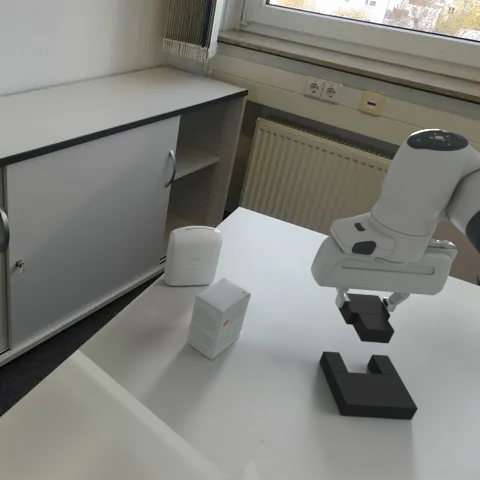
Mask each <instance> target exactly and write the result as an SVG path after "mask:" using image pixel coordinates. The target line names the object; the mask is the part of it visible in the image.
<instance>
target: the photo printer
mask: <svg viewBox="0 0 480 480" xmlns="http://www.w3.org/2000/svg"><path fill="white" fill-rule="evenodd" d="M222 245H223V236H222V232H221V230H220V229H218V228H215V227H211V226H207V225H190V226H183V227H178V228H175V229H173V230H171V231H170V233H169V239H168V245H167V251H166V257H165V265H164V271H163V277H162V278H163V282H164V283H165V284H166V285H167V286H171V287H178V286H179V287H180V286H181V287H183V286H185V287H186V286H204V285H213V284H214V283H215V277H216V273H217V267H218V264H219V258H220V254H221V249H222Z"/></svg>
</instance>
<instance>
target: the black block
mask: <svg viewBox="0 0 480 480" xmlns="http://www.w3.org/2000/svg"><path fill="white" fill-rule="evenodd" d="M344 294H347V296H348V298H349V300H350V303H349V305H348V307H347V308H338V307H337V309H338V311H339V313H340V315H341V316H342V318H343V320H344V322H345V325H348V326H349V325H351V326H352V327H353V328H354V330H355V332H356V334H357V336H358V338H359V340H360V342H363V343H379V344H389V343H390V342H391V340H392V338H393V336H394V334H395V329H394V328H393V326H392V325H391V323H390V321H389V320H390V317H391V312H388V310H387V309H386V307H385V306H384V304H383V300H382V299H381V298H380V295H377V294H364V293H350V292H347V293H344Z"/></svg>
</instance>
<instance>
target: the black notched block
mask: <svg viewBox="0 0 480 480" xmlns="http://www.w3.org/2000/svg"><path fill="white" fill-rule="evenodd" d="M318 363H319V366H320V368H321V371H322V373H323V375H324V377H325V380H326V383H327V385H328V387H329V390H330V392H331V395H332V397H333V399H334V402H335V405H336V406H337V407H336V408H337V409H338V411H339V414H340V416H344V417H345V416H346V417H359V418H376V419H393V420H407V421H408V420H413V418H414V417H415V414H416V413H417V411H418V406H417V404H416V403H415V400H414V399H413V397H412V396H411V394H410V392H409V390H408V388H407V387H406V385H405V383H404V381H403V379H402V377H401V376H400V374H399V372H398V371H397V369H396V367H395V366H394V363H393V362H392V360H391V358H390V357H389V355H386V354H371V356H370V358H369V360H368V362H367V365H366V366H367V368H368V370H369V372H368V373H367V372H366V373H365V372H352V371H351V372H350V371H349V370H348V368H347V366H346V364H345V362H344V360H343V357H342V355H341V353H340V352H339V351H327V350H326V351H323V352H322V353H321V356H320V359H319V361H318Z"/></svg>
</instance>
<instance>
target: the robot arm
mask: <svg viewBox="0 0 480 480" xmlns="http://www.w3.org/2000/svg"><path fill="white" fill-rule="evenodd" d="M441 222H451V224H453V226H455V227H456V229H458V230H459V232H461V233H462V234H463V235H464V236H465V237H466V239H467V241H468V242H469V243H470V244H471V245H472V247H473V248H474V249H475V250H476V252H477V253H478V255H480V152H479V151H477V150H476V149H475V148H474V147H473V146H472V145H471V144H470V142H469V140H468V139H467V138H466V137H465V136H464V135H461V134H459V133H456V132H454V131H449V130H445V129H439V128H438V129H437V128H435V129H433V128H431V129H424V130H423V129H422V130H418V131H416V132H414V133H412V134H410V135H409V136H408V137H407V138H406V139H405V140H404V141H403V142H402V143H401V145H400V146H399V147H398V150H397V151H396V153H395V154H394V156H393V158H392V160H391V162H390V164H389V166H388V169H387V170H386V173H385V175H384V178H383V181H382V184H381V187H380V196H379V198H378V200H377V201H376V202H375V203H374V205H373V206H372V208H371V210H370V212H366V213H363V214H359V215H354V216H351V217H344V218H339V219H336V220H334V221H332V222H331V226H330V231H331V235H329V236H327V237H326V238H324V240H323V241H322V242H321V244H320V245H319V248H318V249H317V251H316V253H315V255H314V258H313V261H312V263H311V266H310V273H311V276H312V278H313V280H314V281H315V283H316V284H317V285H318V287H323V288H335V290H336V293H337V295H336V297H335V299H334V304H335V305H336V308H337V309H338V308H347V307H348V305H349V303H350V300H349V298H348V296H347V294H344V293H349V290H360V291H374V292H387V293H391V295H390V296H388V297H387V296H383V298H382V302H383V304H384V306H385V307H386V309H387V310H388V312H389V313H394V312H395V310H396V308H397V306H398V305H400V304H401V303H403V302H404V301H406V300H408V299H409V297H410V295H424V296H436V295H438V294H439V293H441V292H442V291H443V290H444V288H445V285H446V283H447V280H448V278H449V276H450V271H451V268H452V263H454V261H455V259H456V257H457V255H458V252H459V251H458V247H457V245H455V244H453V241H450V240H447V239H445V240H438V239H432V237H433V235H434V234H435V231H436V230H437V226H438V224H440V223H441Z"/></svg>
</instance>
